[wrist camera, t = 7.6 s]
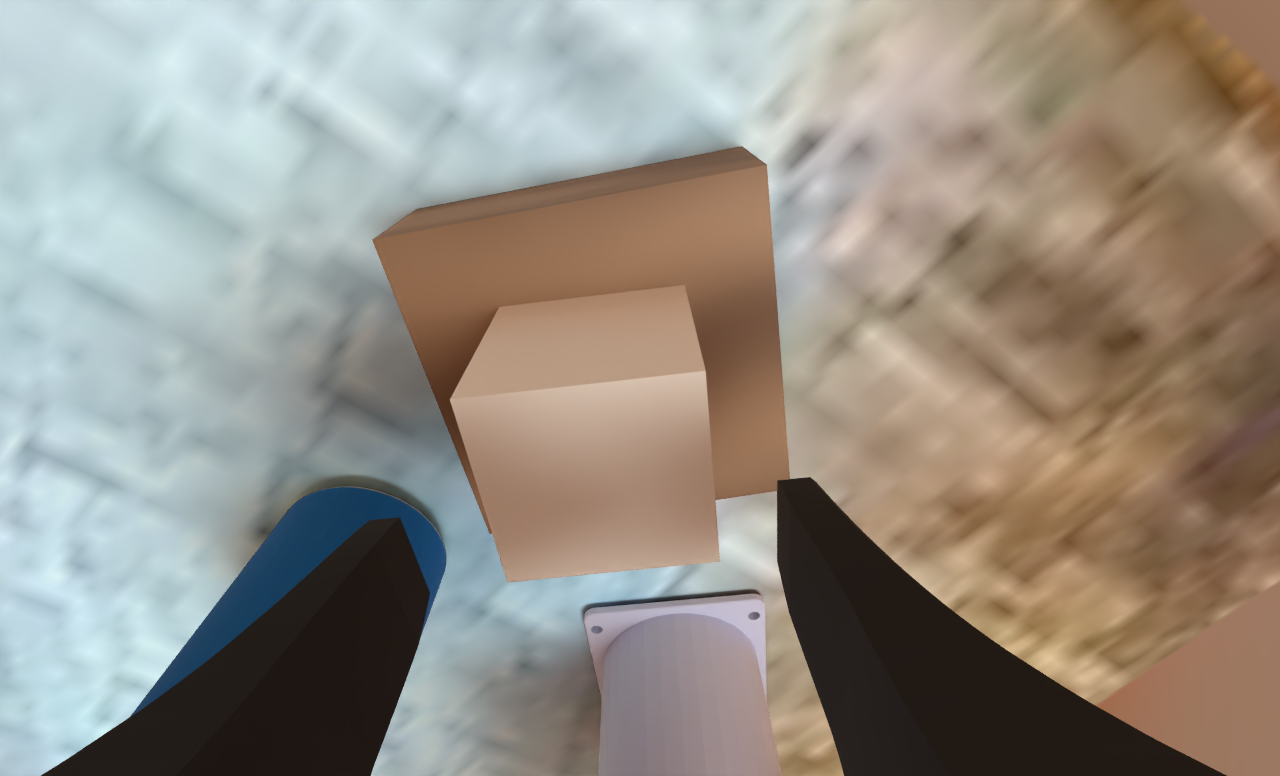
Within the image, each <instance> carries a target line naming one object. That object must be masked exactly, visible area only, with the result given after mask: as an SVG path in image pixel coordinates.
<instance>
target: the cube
mask: <svg viewBox="0 0 1280 776" xmlns="http://www.w3.org/2000/svg"><path fill="white" fill-rule="evenodd" d="M450 402H451V405H452V408H453V411H454V414H455V417H456V421H457V424H458V427H459V430H460V433H461V436H462V440H463V443H464V446H465V449H466V452H467V455H468V459H469V462H470V465H471V468H472V471H473V474H474V477H475V481H476V484H477V487H478V490H479V493H480V496H481V500H482V503H483V506H484V509H485V512H486V515H487V518H488V522H489V525H490V528H491V531H492V534H493V537H494V541H495V544H496V547H497V550H498V553H499V556H500V560H501V563H502V566H503V569H504V572H505V575H506V578H507V582H516V581H526V580H536V579H546V578H557V577H567V576H577V575H587V574H597V573H608V572H618V571H628V570H638V569H648V568H659V567H669V566H679V565H689V564H699V563H710V562H720V557H719V543H718V530H717V516H716V503H715V489H714V476H713V463H712V449H711V436H710V422H709V409H708V395H707V382H706V370H705V366H704V362H703V358H702V354H701V350H700V346H699V341H698V337H697V333H696V329H695V325H694V321H693V317H692V313H691V309H690V305H689V301H688V296H687V292H686V288H685V285H679V286H670V287H662V288H654V289H645V290H637V291H628V292H620V293H612V294H603V295H595V296H586V297H578V298H570V299H561V300H553V301H545V302H536V303H528V304H519V305H511V306H503V307H499V309H498V310H497V312H496V314H495V316H494V318H493V320H492V322H491V324H490V325H489V327H488V329H487V331H486V333H485V335H484V337H483V339H482V340H481V342H480V344H479V346H478V348H477V350H476V352H475V353H474V355H473V357H472V359H471V361H470V363H469V365H468V367H467V368H466V370H465V372H464V374H463V376H462V378H461V380H460V382H459V383H458V385H457V387H456V389H455V391H454V393H453V395H452V397H451V398H450Z"/></svg>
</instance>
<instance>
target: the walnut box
mask: <svg viewBox="0 0 1280 776" xmlns="http://www.w3.org/2000/svg"><path fill="white" fill-rule="evenodd" d="M373 243H374V245H375V248H376V250H377V253H378V255H379V258H380V260H381V263H382V265H383V268H384V270H385V273H386V275H387V278H388V280H389V283H390V285H391V288H392V290H393V293H394V295H395V298H396V300H397V303H398V305H399V308H400V310H401V313H402V315H403V318H404V320H405V323H406V325H407V328H408V330H409V333H410V335H411V338H412V340H413V343H414V345H415V348H416V350H417V353H418V355H419V358H420V360H421V363H422V365H423V368H424V370H425V373H426V375H427V378H428V380H429V383H430V385H431V388H432V390H433V393H434V395H435V398H436V400H437V403H438V405H439V408H440V410H441V413H442V415H443V418H444V420H445V423H446V425H447V428H448V430H449V433H450V435H451V438H452V440H453V443H454V445H455V448H456V450H457V453H458V455H459V458H460V460H461V463H462V465H463V468H464V470H465V473H466V475H467V478H468V480H469V483H470V485H471V488H472V490H473V493H474V495H475V498H476V500H477V503H478V505H479V508H480V510H481V513H482V515H483V518H484V520H485V523H486V525H487V528H488V530H489V533H490V534H492V531H491V528H490V525H489V522H488V518H487V515H486V512H485V509H484V506H483V503H482V500H481V496H480V493H479V490H478V487H477V484H476V481H475V477H474V474H473V471H472V468H471V465H470V462H469V459H468V455H467V452H466V449H465V446H464V443H463V440H462V436H461V433H460V430H459V427H458V424H457V421H456V417H455V414H454V411H453V408H452V405H451V402H450V398H451V397H452V395H453V393H454V391H455V389H456V387H457V385H458V383H459V382H460V380H461V378H462V376H463V374H464V372H465V370H466V368H467V367H468V365H469V363H470V361H471V359H472V357H473V355H474V353H475V352H476V350H477V348H478V346H479V344H480V342H481V340H482V339H483V337H484V335H485V333H486V331H487V329H488V327H489V325H490V324H491V322H492V320H493V318H494V316H495V314H496V312H497V310H498V309H499V307H503V306H511V305H519V304H528V303H536V302H545V301H553V300H561V299H570V298H578V297H586V296H595V295H603V294H612V293H620V292H628V291H637V290H645V289H654V288H662V287H670V286H679V285H685V288H686V292H687V296H688V301H689V305H690V309H691V313H692V317H693V321H694V325H695V329H696V333H697V337H698V341H699V346H700V350H701V354H702V358H703V362H704V366H705V370H706V382H707V395H708V409H709V422H710V436H711V449H712V463H713V476H714V489H715V500H719V499H726V498H732V497H739V496H746V495H752V494H759V493H766V492H772V491H777V480H788V479H790V475H789V461H788V448H787V434H786V421H785V407H784V393H783V380H782V366H781V352H780V339H779V325H778V312H777V298H776V284H775V271H774V257H773V244H772V230H771V216H770V203H769V189H768V175H767V165H766V164H765V163H764V162H762V161H761V160H760V159H758V158H757V157H756V156H754V155H753V154H752V153H750V152H749V151H748V150H746V149H745V148H744V147H737V148H731V149H726V150H721V151H716V152H711V153H705V154H700V155H695V156H690V157H685V158H680V159H674V160H669V161H664V162H659V163H654V164H648V165H643V166H638V167H633V168H628V169H623V170H617V171H612V172H607V173H602V174H597V175H591V176H586V177H581V178H576V179H571V180H566V181H560V182H555V183H550V184H545V185H540V186H534V187H529V188H524V189H519V190H514V191H509V192H503V193H498V194H493V195H488V196H483V197H477V198H472V199H467V200H462V201H457V202H452V203H446V204H441V205H436V206H431V207H426V208H420V209H417V210H415V211H414V212H412V213H411V214H409V215H408V216H406V217H405V218H403V219H402V220H401V221H399V222H398V223H396V224H395V225H393V226H392V227H390V228H389V229H387V230H386V231H384V232H383V233H382V234H380V235H379V236H377V237H376V238H374V239H373Z"/></svg>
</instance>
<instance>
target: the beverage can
mask: <svg viewBox="0 0 1280 776" xmlns="http://www.w3.org/2000/svg"><path fill="white" fill-rule="evenodd" d="M398 517H400V518H401V521H402V523H403V526H404V528H405V531H406V533H407V536H408V538H409V541H410V543H411V546H412V549H413V551H414V554H415V556H416V559H417V561H418V564H419V566H420V569H421V571H422V574H423V576H424V579H425V581H426V584H427V586H428V589H429V591H430V597H429V601H428V606H427V611H426V616H425V620H424V624H423V629H424V626H425V624H426V621H427V618H428V615H429V613H430V610H431V607H432V605H433V602H434V599H435V596H436V594H437V591H438V588H439V585H440V583H441V580H442V577H443V575H444V572H445V567H446V551H445V546H444V543H443V541H442V538H441V536H440V535H439V533H438V531H437V530H436V528H435V527H434V525H433V524H432V523H431V522H430V521H429V520H428V519H427V518H426V517H425V516H424V515H423V514H422V513H421V512H420V511H418V510H417V509H415V508H414V507H413V506H411V505H410V504H408V503H406V502H404V501H403V500H401V499H399V498H397V497H394V496H392V495H390V494H387V493H384V492H380V491H377V490H373V489H368V488H361V487H346V486H343V487H332V488H327V489H322V490H319V491H316V492H313V493H311V494H309V495H307V496H305V497H303V498H302V499H300V500H299V501H297V502H296V503H295V504H294V505H293V506H292V507H291V508H290V509H289V510H288V511H287V513H286V514H285V515H284V516H283V518H282V519H281V520H280V522H279V523H278V524H277V526H276V527H275V528H274V530H273V531H272V532H271V533H270V535H269V536H268V537H267V539H266V540H265V541H264V543H263V544H262V545H261V546H260V548H259V549H258V550H257V552H256V553H255V554H254V556H253V557H252V558H251V560H250V561H249V562H248V563H247V565H246V566H245V567H244V569H243V570H242V571H241V573H240V574H239V575H238V577H237V578H236V579H235V580H234V582H233V583H232V584H231V586H230V587H229V588H228V590H227V591H226V592H225V594H224V595H223V596H222V597H221V599H220V600H219V601H218V603H217V604H216V605H215V607H214V608H213V609H212V611H211V612H210V613H209V614H208V616H207V617H206V618H205V620H204V621H203V622H202V624H201V625H200V626H199V628H198V629H197V630H196V631H195V633H194V634H193V635H192V637H191V638H190V639H189V641H188V642H187V643H186V644H185V646H184V647H183V648H182V650H181V651H180V652H179V654H178V655H177V656H176V658H175V659H174V660H173V661H172V663H171V664H170V665H169V667H168V668H167V669H166V671H165V672H164V673H163V675H162V676H161V677H160V678H159V680H158V681H157V682H156V684H155V685H154V686H153V688H152V689H151V690H150V692H149V693H148V694H147V695H146V697H145V698H144V699H143V701H142V702H141V703H140V705H139V706H138V707H137V709H136V710H135V711H134V712H133V714H132V715H131V716H133V715H134V714H136V713H137V712H139V711H140V710H141V709H143V708H144V707H146V706H147V705H149V704H150V703H151V702H153V701H154V700H155V699H157V698H158V697H160V696H161V695H162V694H164V693H165V692H166V691H168V690H169V689H170V688H172V687H173V686H174V685H176V684H177V683H179V682H180V681H181V680H183V679H184V678H185V677H187V676H188V675H189V674H191V673H192V672H193V671H195V670H196V669H197V668H198V667H200V666H201V665H202V664H204V663H205V662H206V661H207V660H209V659H210V658H211V657H212V656H214V655H215V654H216V653H217V652H219V651H220V650H221V649H222V648H224V647H225V646H226V645H227V644H228V643H230V642H231V641H232V640H233V639H234V638H235V637H237V636H238V635H239V634H240V633H241V632H243V631H244V630H245V629H246V628H247V627H249V626H250V625H251V624H252V623H253V622H254V621H256V620H257V619H258V618H259V617H260V616H262V615H263V614H264V613H265V612H266V611H268V610H269V609H270V608H271V607H272V606H273V605H275V604H276V603H277V602H278V601H279V600H280V599H281V598H282V597H284V596H285V595H286V594H287V593H288V592H289V591H290V590H291V589H292V588H294V587H295V586H296V585H297V584H298V583H299V582H300V581H301V580H302V579H304V578H305V577H306V576H307V575H308V574H309V573H310V572H311V571H312V570H314V569H315V568H316V567H317V566H318V565H319V564H320V563H321V562H322V561H323V560H325V559H326V558H327V557H328V556H329V555H330V554H331V553H332V552H333V551H334V550H335V549H337V548H338V547H339V546H340V545H341V544H342V543H343V542H344V541H345V540H347V539H348V538H349V537H350V536H351V535H352V534H353V533H355V532H356V531H357V530H358V529H359V528H360V527H362V526H363V525H364V524H365V523H367V522H368V521H369V520H377V519H388V518H398ZM423 629H422V632H423ZM421 635H422V633H421ZM131 716H130V717H131Z"/></svg>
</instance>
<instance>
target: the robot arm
mask: <svg viewBox="0 0 1280 776" xmlns="http://www.w3.org/2000/svg"><path fill="white" fill-rule="evenodd" d="M777 562H778V566H779V571H780V575H781V580H782V584H783V588H784V593H785V597H786V601H787V605H788V609H789V613H790V616H791V619H792V622H793V625H794V627H795V630H796V633H797V636H798V639H799V642H800V645H801V647H802V650H803V653H804V656H805V659H806V661H807V664H808V667H809V670H810V673H811V676H812V678H813V681H814V684H815V687H816V690H817V692H818V695H819V698H820V701H821V704H822V706H823V709H824V712H825V715H826V718H827V720H828V723H829V726H830V729H831V732H832V735H833V738H834V741H835V745H836V748H837V751H838V754H839V757H840V761H841V765H842V769H843V773H844V776H1226V775H1224V774H1222V773H1220V772H1218V771H1216V770H1214V769H1213V768H1210V767H1209V766H1206V765H1204V764H1203V763H1201V762H1199V761H1197V760H1195V759H1193V758H1191V757H1189V756H1187V755H1185V754H1183V753H1181V752H1179V751H1177V750H1175V749H1173V748H1171V747H1169V746H1167V745H1165V744H1163V743H1161V742H1159V741H1157V740H1155V739H1154V738H1152V737H1150V736H1148V735H1146V734H1144V733H1143V732H1141V731H1139V730H1137V729H1135V728H1134V727H1132V726H1130V725H1129V724H1126V723H1125V722H1123V721H1121V720H1119V719H1118V718H1116V717H1114V716H1113V715H1111V714H1109V713H1107V712H1106V711H1104V710H1102V709H1100V708H1098V707H1097V706H1095V705H1093V704H1091V703H1090V702H1088V701H1086V700H1085V699H1083V698H1081V697H1080V696H1078V695H1076V694H1075V693H1073V692H1071V691H1070V690H1068V689H1066V688H1065V687H1063V686H1062V685H1060V684H1059V683H1057V682H1055V681H1054V680H1052V679H1051V678H1049V677H1048V676H1046V675H1044V674H1043V673H1041V672H1040V671H1038V670H1037V669H1035V668H1033V667H1032V666H1030V665H1029V664H1027V663H1026V662H1024V661H1023V660H1021V659H1019V658H1018V657H1016V656H1015V655H1013V654H1012V653H1010V652H1009V651H1007V650H1006V649H1004V648H1003V647H1001V646H1000V645H998V644H997V643H996V642H994V641H993V640H991V639H990V638H988V637H987V636H985V635H984V634H983V633H981V632H980V631H979V630H977V629H976V628H975V627H973V626H972V625H971V624H969V623H968V622H967V621H965V620H964V619H963V618H961V617H960V616H959V615H957V614H956V613H955V612H953V611H952V610H951V609H950V608H948V607H947V606H946V605H945V604H943V603H942V602H941V601H940V600H938V599H937V598H936V597H935V596H934V595H932V594H931V593H930V592H929V591H928V590H926V589H925V588H924V587H923V586H922V585H920V584H919V583H918V582H917V581H916V580H915V579H913V578H912V577H911V576H910V575H909V574H908V573H906V572H905V571H904V570H903V569H902V568H901V567H900V566H899V565H898V564H896V563H895V562H894V561H893V560H892V559H891V558H890V557H889V556H888V555H887V554H886V553H885V552H884V551H883V550H881V549H880V548H879V547H878V546H877V545H876V544H875V543H874V542H873V541H872V540H871V539H870V538H869V537H868V536H867V535H866V534H865V533H864V532H863V531H862V530H861V529H860V528H859V527H858V526H857V525H856V524H855V523H854V522H853V521H852V520H851V519H850V518H849V517H848V516H847V515H846V514H845V513H844V512H843V511H842V510H841V509H840V508H839V507H838V506H837V505H836V503H835V502H834V501H833V500H832V499H831V498H830V497H829V496H828V495H827V494H826V493H825V491H824V490H823V489H822V488H821V487H820V486H819V485H818V484H817V483H816V482H815V481H814V480H813V479H812V478H810V477H808V478H798V479H788V480H777ZM429 597H430V591H429V589H428V586H427V584H426V581H425V579H424V576H423V574H422V571H421V569H420V566H419V564H418V561H417V559H416V556H415V554H414V551H413V549H412V546H411V543H410V541H409V538H408V536H407V533H406V531H405V528H404V526H403V523H402V521H401V518H400V517H398V518H388V519H377V520H369V521H368V522H367V523H365V524H364V525H363V526H362V527H360V528H359V529H358V530H357V531H356V532H355V533H353V534H352V535H351V536H350V537H349V538H348V539H347V540H345V541H344V542H343V543H342V544H341V545H340V546H339V547H338V548H337V549H335V550H334V551H333V552H332V553H331V554H330V555H329V556H328V557H327V558H326V559H325V560H323V561H322V562H321V563H320V564H319V565H318V566H317V567H316V568H315V569H314V570H312V571H311V572H310V573H309V574H308V575H307V576H306V577H305V578H304V579H302V580H301V581H300V582H299V583H298V584H297V585H296V586H295V587H294V588H292V589H291V590H290V591H289V592H288V593H287V594H286V595H285V596H284V597H282V598H281V599H280V600H279V601H278V602H277V603H276V604H275V605H273V606H272V607H271V608H270V609H269V610H268V611H266V612H265V613H264V614H263V615H262V616H260V617H259V618H258V619H257V620H256V621H254V622H253V623H252V624H251V625H250V626H249V627H247V628H246V629H245V630H244V631H243V632H241V633H240V634H239V635H238V636H237V637H235V638H234V639H233V640H232V641H231V642H230V643H228V644H227V645H226V646H225V647H224V648H222V649H221V650H220V651H219V652H217V653H216V654H215V655H214V656H212V657H211V658H210V659H209V660H207V661H206V662H205V663H204V664H202V665H201V666H200V667H198V668H197V669H196V670H195V671H193V672H192V673H191V674H189V675H188V676H187V677H185V678H184V679H183V680H181V681H180V682H179V683H177V684H176V685H174V686H173V687H172V688H170V689H169V690H168V691H166V692H165V693H164V694H162V695H161V696H160V697H158V698H157V699H155V700H154V701H153V702H151V703H150V704H149V705H147V706H146V707H144V708H143V709H141V710H140V711H139V712H137V713H136V714H134V715H133V716H131V717H130V718H128V719H127V720H125V721H124V722H122V723H121V724H119V725H118V726H116V727H115V728H113V729H112V730H110V731H109V732H107V733H106V734H104V735H103V736H101V737H100V738H98V739H97V740H95V741H94V742H92V743H91V744H89V745H88V746H86V747H85V748H83V749H82V750H80V751H79V752H77V753H76V754H74V755H73V756H71V757H70V758H68V759H67V760H65V761H64V762H62V763H60V764H59V765H57V766H56V767H54V768H52V769H51V770H49V771H48V772H46V773H44V774H43V775H41V776H371V773H372V770H373V767H374V764H375V761H376V759H377V756H378V753H379V751H380V748H381V745H382V743H383V740H384V737H385V735H386V732H387V729H388V727H389V724H390V721H391V718H392V716H393V713H394V710H395V708H396V705H397V702H398V700H399V697H400V694H401V692H402V689H403V686H404V684H405V681H406V678H407V675H408V673H409V670H410V667H411V664H412V662H413V659H414V656H415V653H416V650H417V648H418V645H419V641H420V637H421V633H422V629H423V624H424V620H425V616H426V611H427V606H428V601H429ZM751 612H754V613H751ZM584 625H585V629H586V633H587V638H588V642H589V646H590V651H591V655H592V659H593V664H594V668H595V672H596V677H597V681H598V685H599V690H600V694H601V698H602V705H601V727H600V749H599V771H598V776H782V773H781V768H780V763H779V758H778V754H777V749H776V744H775V739H774V735H773V730H772V725H771V721H770V716H769V711H768V706H767V698H766V635H765V604H764V600H763V597H761V596H760V595H758V594H743V595H732V596H720V597H709V598H698V599H687V600H676V601H665V602H654V603H642V604H631V605H620V606H609V607H598V608H591V609H589V610H587V611H586V612H585V615H584Z"/></svg>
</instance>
